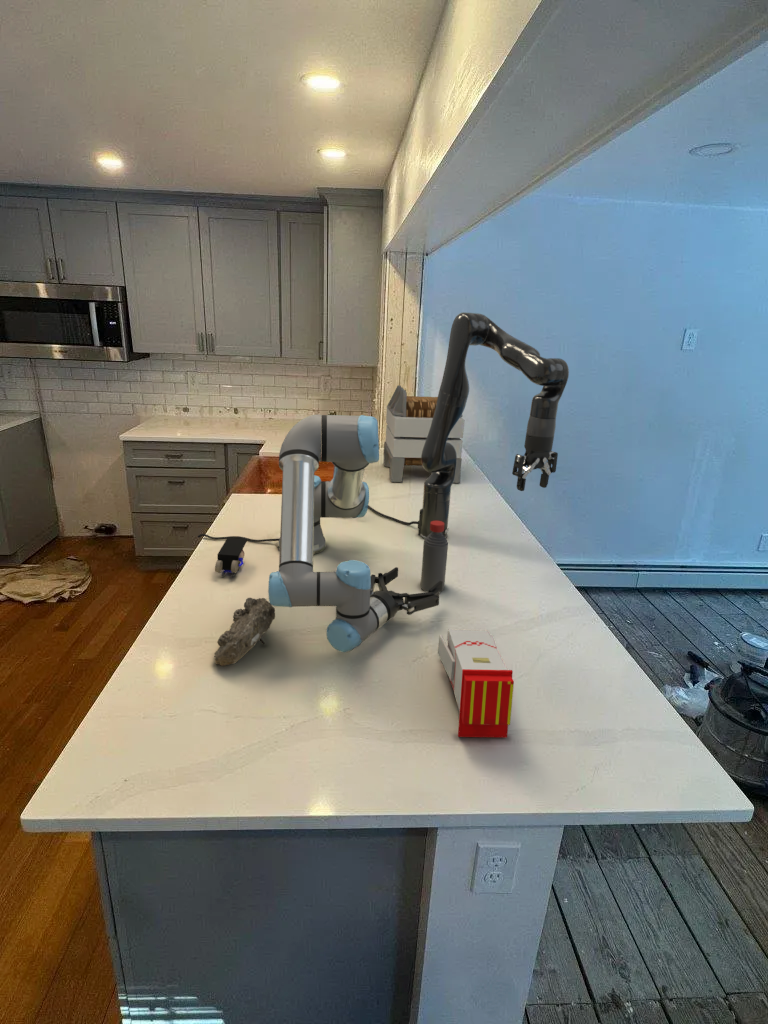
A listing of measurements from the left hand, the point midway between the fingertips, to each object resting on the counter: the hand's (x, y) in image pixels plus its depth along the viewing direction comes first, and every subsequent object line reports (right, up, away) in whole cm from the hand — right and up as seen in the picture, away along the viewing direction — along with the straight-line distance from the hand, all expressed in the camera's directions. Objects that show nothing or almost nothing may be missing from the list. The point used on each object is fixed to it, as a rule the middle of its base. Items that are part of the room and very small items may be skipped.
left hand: (418, 578), depth 153 cm
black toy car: (-54, +1, +15) cm, 56 cm away
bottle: (+5, -4, +9) cm, 11 cm away
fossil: (-41, -13, -21) cm, 48 cm away
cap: (+5, +15, +3) cm, 16 cm away
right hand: (+33, +25, +9) cm, 42 cm away
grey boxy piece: (+8, +37, +122) cm, 128 cm away
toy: (+9, -20, -35) cm, 41 cm away
